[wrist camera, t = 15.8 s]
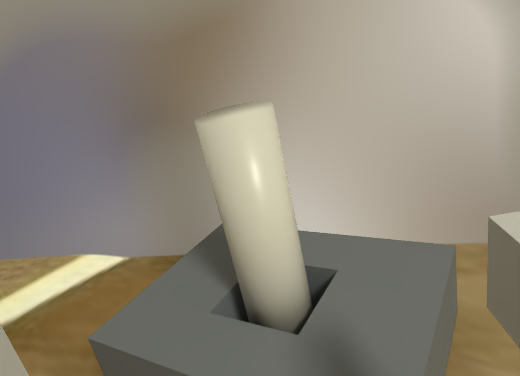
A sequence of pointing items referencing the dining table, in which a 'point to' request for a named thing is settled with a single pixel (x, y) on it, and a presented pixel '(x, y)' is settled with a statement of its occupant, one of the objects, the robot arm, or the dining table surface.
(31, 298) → the dining table surface
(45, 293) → the dining table surface
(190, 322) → the hole block
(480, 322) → the dining table surface
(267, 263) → the pin
